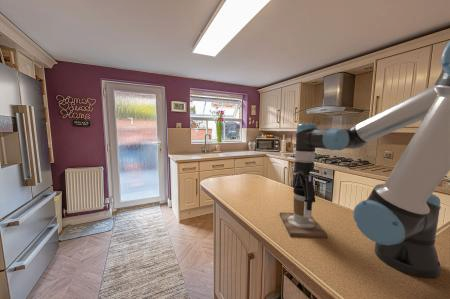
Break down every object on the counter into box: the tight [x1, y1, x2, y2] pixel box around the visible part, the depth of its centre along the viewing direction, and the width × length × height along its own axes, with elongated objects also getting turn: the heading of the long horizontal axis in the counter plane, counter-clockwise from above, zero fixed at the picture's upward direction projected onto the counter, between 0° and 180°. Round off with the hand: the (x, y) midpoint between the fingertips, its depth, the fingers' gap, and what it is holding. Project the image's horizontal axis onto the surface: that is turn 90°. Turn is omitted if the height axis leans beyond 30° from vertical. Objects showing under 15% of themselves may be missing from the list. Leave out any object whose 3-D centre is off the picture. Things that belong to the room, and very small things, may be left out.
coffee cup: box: [293, 186, 316, 224], centre depth 81 cm, size 8×8×15 cm
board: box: [279, 211, 328, 239], centre depth 82 cm, size 18×14×2 cm
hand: (301, 209), depth 82 cm, fingers open, 13 cm apart
